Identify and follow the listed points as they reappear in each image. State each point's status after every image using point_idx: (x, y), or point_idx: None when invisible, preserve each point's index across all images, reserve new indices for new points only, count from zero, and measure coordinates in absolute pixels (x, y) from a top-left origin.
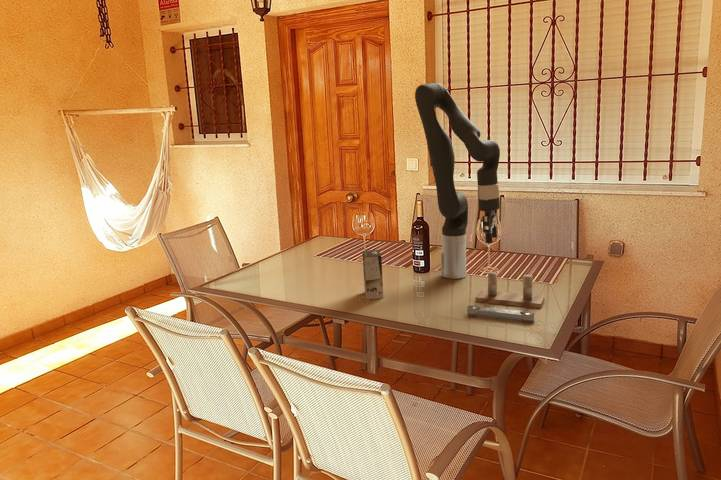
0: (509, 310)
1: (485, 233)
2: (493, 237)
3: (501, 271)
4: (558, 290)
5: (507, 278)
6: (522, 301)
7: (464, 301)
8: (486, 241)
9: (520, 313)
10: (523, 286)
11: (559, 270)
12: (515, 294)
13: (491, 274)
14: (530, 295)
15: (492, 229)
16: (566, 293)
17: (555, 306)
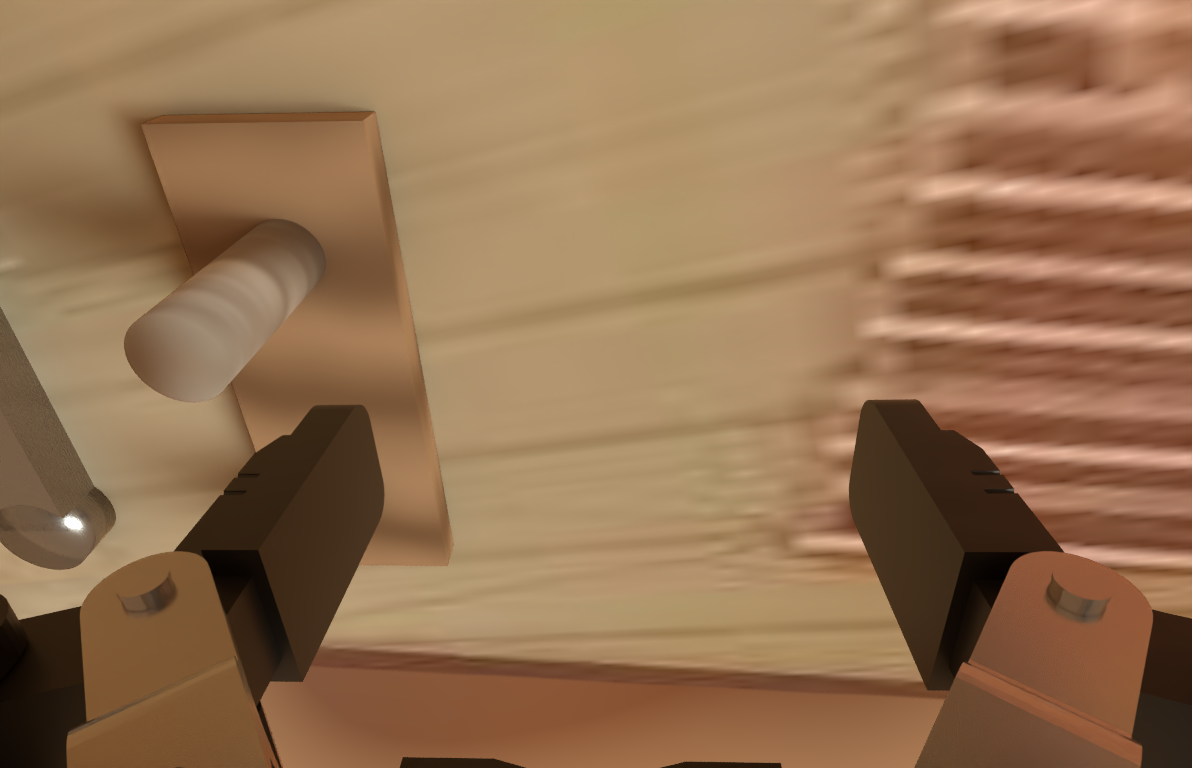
0: (5, 448)
1: (209, 553)
2: (856, 442)
3: (1157, 139)
4: (667, 589)
5: (903, 247)
6: None
7: (99, 5)
8: (308, 430)
9: (10, 509)
10: None
11: (1137, 563)
12: (390, 413)
13: (129, 359)
14: None
15: (929, 570)
16: (623, 625)
17: (377, 598)
